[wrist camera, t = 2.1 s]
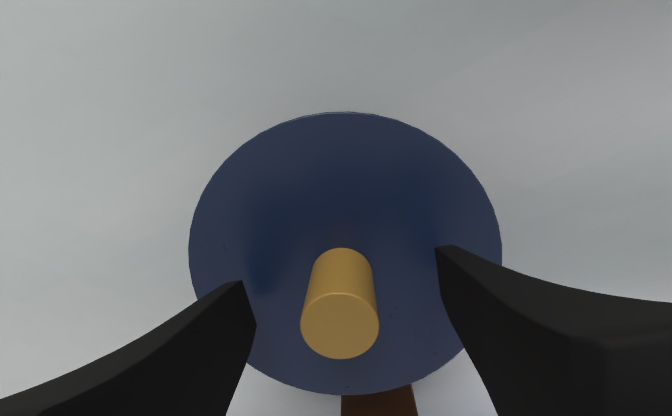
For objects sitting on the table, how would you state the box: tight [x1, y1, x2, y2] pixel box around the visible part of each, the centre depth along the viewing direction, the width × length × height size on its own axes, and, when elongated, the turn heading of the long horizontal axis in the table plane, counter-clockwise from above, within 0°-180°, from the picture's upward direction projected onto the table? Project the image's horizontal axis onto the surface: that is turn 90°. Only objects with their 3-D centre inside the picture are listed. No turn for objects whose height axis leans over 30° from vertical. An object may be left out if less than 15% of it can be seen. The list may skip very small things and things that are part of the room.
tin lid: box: [188, 112, 502, 395], centre depth 11 cm, size 12×12×4 cm
